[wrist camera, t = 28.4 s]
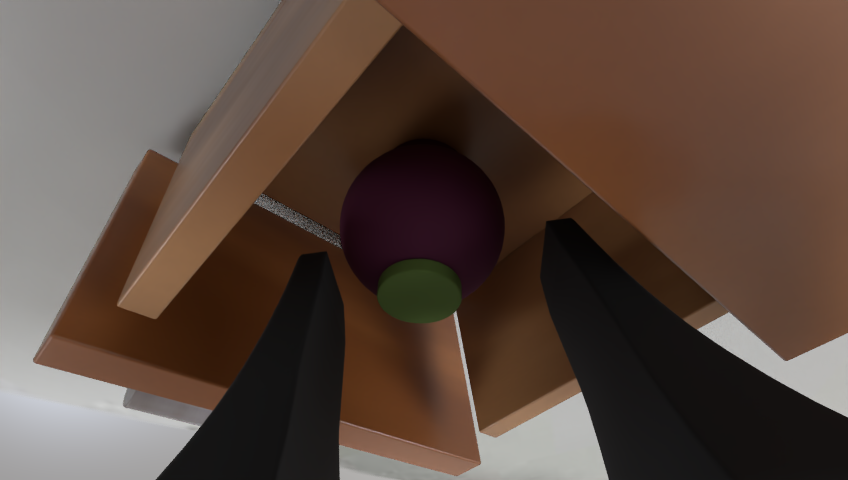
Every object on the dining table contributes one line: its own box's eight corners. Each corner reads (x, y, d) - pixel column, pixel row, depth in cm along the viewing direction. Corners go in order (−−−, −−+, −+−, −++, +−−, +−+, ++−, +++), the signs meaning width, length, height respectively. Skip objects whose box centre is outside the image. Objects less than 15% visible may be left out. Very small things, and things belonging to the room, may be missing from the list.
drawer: (365, 370, 24) (368, 522, 19) (77, 261, 18) (-29, 452, 13) (691, 128, 16) (836, 282, 11) (393, -241, 10) (436, -249, 5)
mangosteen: (321, 155, 15) (284, 278, 11) (449, 80, 13) (451, 200, 9) (405, 245, 17) (397, 366, 14) (522, 193, 15) (544, 318, 12)
